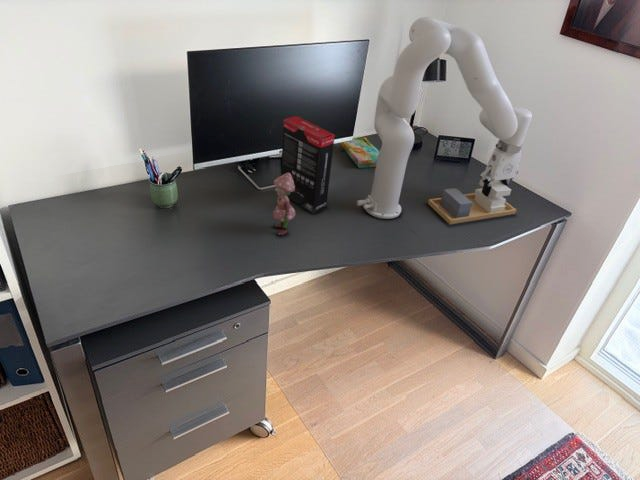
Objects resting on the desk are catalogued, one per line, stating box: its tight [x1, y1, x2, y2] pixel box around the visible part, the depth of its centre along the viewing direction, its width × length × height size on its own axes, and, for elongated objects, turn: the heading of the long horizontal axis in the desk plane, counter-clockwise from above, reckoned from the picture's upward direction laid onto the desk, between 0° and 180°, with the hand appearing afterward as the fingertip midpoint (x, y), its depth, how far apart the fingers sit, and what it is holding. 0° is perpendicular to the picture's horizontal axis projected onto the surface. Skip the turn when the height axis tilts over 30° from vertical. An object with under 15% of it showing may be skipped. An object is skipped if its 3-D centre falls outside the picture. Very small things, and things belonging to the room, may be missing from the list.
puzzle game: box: [339, 137, 380, 169], centre depth 198 cm, size 12×5×20 cm
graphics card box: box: [280, 115, 336, 214], centre depth 160 cm, size 17×7×27 cm, turn 47°
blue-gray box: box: [440, 197, 471, 218], centre depth 169 cm, size 5×10×3 cm, turn 22°
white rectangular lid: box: [478, 178, 512, 197], centre depth 171 cm, size 6×9×2 cm
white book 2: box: [473, 187, 507, 207], centre depth 174 cm, size 6×9×2 cm
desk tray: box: [427, 192, 517, 225], centre depth 173 cm, size 28×14×2 cm, turn 112°
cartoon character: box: [272, 173, 296, 236], centre depth 147 cm, size 10×7×20 cm
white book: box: [474, 196, 506, 213], centre depth 175 cm, size 6×9×2 cm
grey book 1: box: [441, 187, 473, 212], centre depth 168 cm, size 5×10×3 cm, turn 22°
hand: (492, 193), depth 173 cm, fingers closed on white rectangular lid, 6 cm apart
